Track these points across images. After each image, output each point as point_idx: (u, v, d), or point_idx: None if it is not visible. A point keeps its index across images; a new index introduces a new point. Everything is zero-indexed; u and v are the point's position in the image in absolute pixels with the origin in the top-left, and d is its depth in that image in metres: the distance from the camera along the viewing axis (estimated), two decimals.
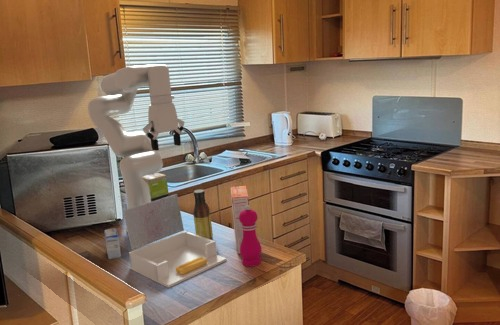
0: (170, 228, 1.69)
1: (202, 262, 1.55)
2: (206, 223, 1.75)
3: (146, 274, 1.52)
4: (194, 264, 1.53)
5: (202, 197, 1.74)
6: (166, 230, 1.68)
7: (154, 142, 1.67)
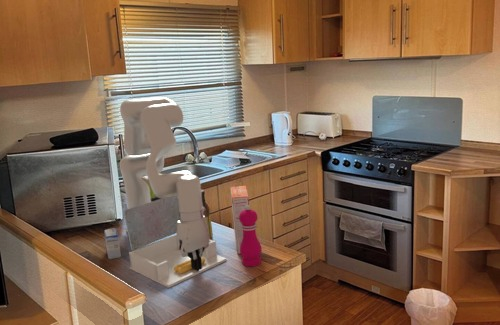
0: (170, 228, 1.69)
1: None
2: None
3: (146, 274, 1.52)
4: None
5: (202, 197, 1.74)
6: (166, 230, 1.68)
7: (194, 262, 1.51)
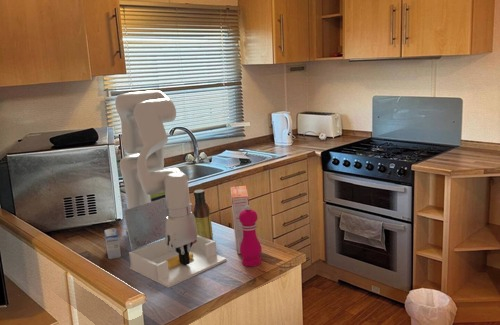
0: None
1: None
2: (206, 223, 1.75)
3: (146, 274, 1.52)
4: None
5: (202, 197, 1.74)
6: None
7: (182, 257, 1.55)
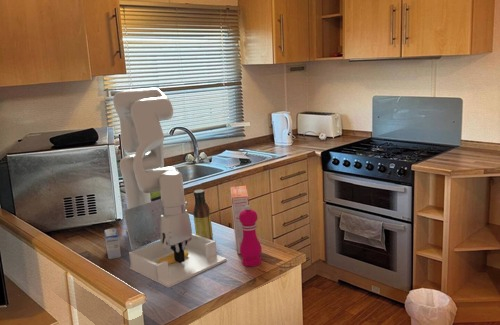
0: None
1: None
2: (206, 223, 1.75)
3: (146, 274, 1.52)
4: None
5: (202, 197, 1.74)
6: None
7: (177, 254, 1.57)
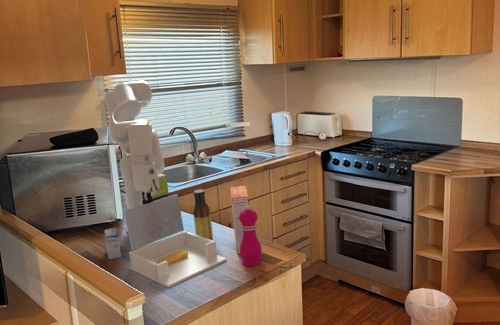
0: (170, 228, 1.69)
1: (183, 255, 1.62)
2: (206, 223, 1.75)
3: (146, 274, 1.52)
4: (175, 256, 1.60)
5: (202, 197, 1.74)
6: (166, 230, 1.68)
7: None
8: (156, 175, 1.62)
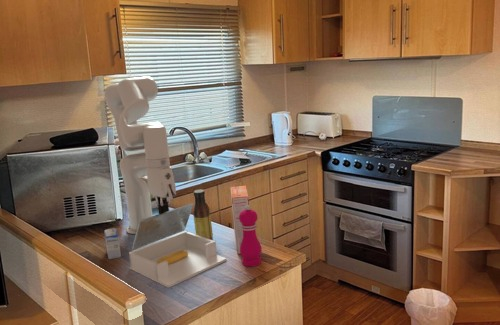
0: (173, 230, 1.68)
1: (183, 255, 1.62)
2: (206, 223, 1.75)
3: (146, 274, 1.52)
4: (175, 256, 1.60)
5: (202, 197, 1.74)
6: (169, 232, 1.67)
7: None
8: (173, 180, 1.55)
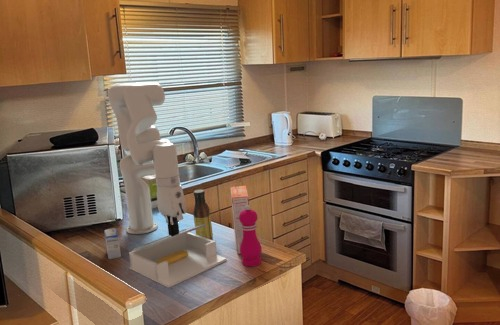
0: None
1: (183, 255, 1.62)
2: (206, 223, 1.75)
3: (146, 274, 1.52)
4: (175, 256, 1.60)
5: (202, 197, 1.74)
6: None
7: None
8: (183, 198, 1.53)
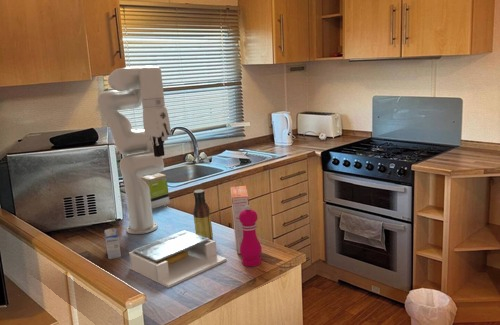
0: None
1: (183, 255, 1.62)
2: (206, 223, 1.75)
3: (146, 274, 1.52)
4: (175, 256, 1.60)
5: (202, 197, 1.74)
6: None
7: None
8: (167, 119, 1.61)
